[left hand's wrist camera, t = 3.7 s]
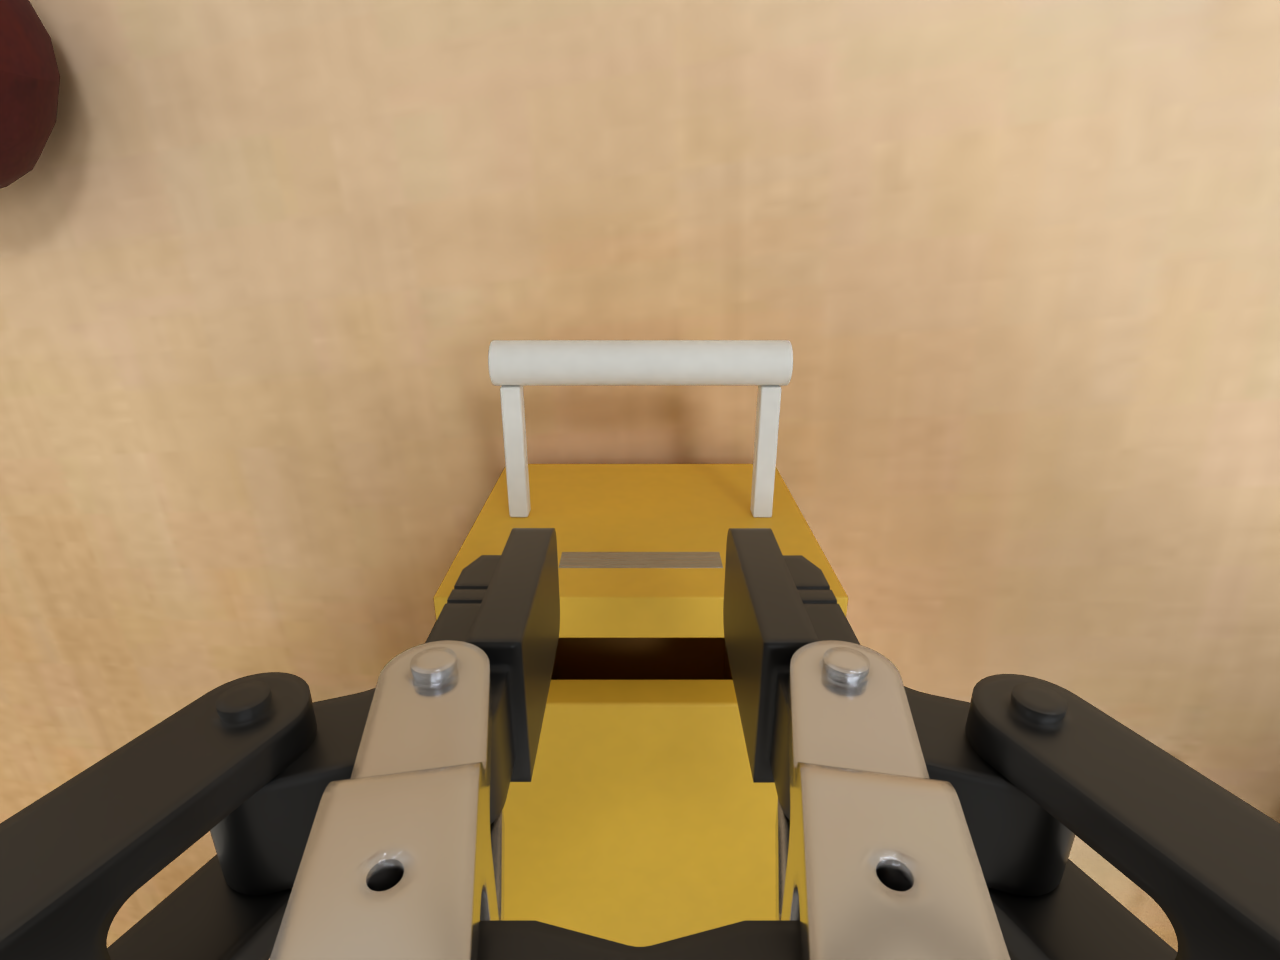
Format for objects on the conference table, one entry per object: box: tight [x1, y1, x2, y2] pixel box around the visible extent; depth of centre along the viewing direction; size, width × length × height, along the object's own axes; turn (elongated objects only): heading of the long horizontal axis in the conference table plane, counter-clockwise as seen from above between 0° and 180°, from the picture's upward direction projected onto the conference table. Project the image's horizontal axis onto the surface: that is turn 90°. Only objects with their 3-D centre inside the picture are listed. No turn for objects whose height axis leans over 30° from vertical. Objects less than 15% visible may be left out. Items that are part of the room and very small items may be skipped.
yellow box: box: [503, 680, 778, 947], centre depth 26 cm, size 19×12×12 cm, turn 0°
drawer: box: [434, 340, 848, 680], centre depth 24 cm, size 23×10×10 cm, turn 0°
